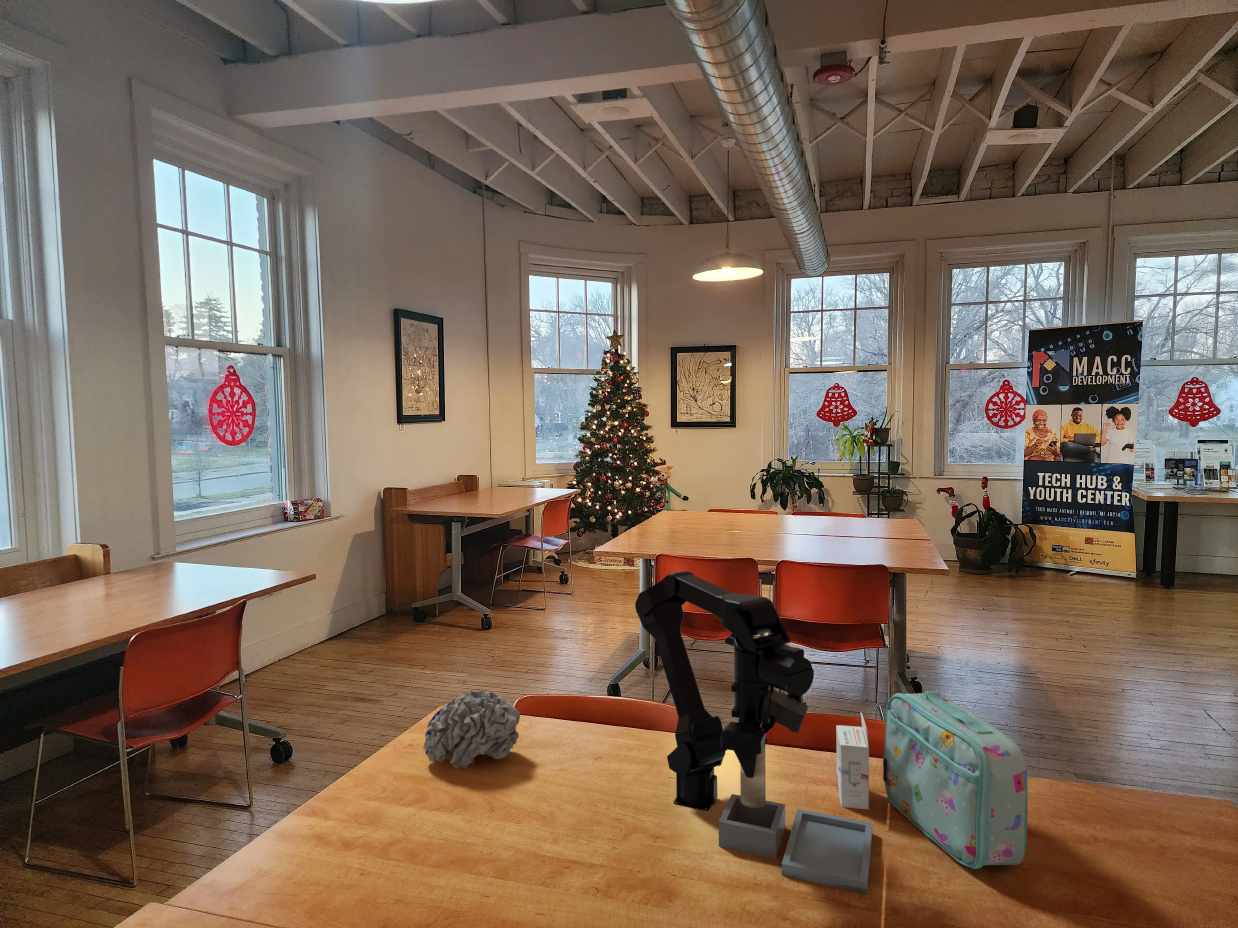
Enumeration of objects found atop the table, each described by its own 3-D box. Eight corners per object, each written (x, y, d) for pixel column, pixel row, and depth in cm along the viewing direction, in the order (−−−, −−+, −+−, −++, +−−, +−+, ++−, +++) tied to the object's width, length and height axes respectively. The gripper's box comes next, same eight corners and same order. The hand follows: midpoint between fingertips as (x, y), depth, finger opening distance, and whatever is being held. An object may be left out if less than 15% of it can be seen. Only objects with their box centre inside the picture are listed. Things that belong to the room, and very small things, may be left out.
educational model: (452, 771, 149) (419, 709, 149) (535, 727, 150) (502, 666, 149) (438, 804, 135) (402, 736, 135) (529, 755, 136) (493, 687, 135)
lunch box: (871, 793, 127) (872, 678, 126) (921, 786, 129) (922, 673, 128) (974, 887, 101) (976, 743, 100) (1035, 877, 103) (1037, 736, 102)
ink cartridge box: (834, 785, 130) (835, 708, 129) (862, 787, 129) (863, 709, 128) (840, 809, 122) (840, 727, 121) (869, 812, 121) (870, 729, 120)
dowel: (738, 804, 112) (737, 744, 111) (743, 792, 116) (743, 733, 115) (763, 809, 110) (762, 748, 110) (767, 797, 114) (767, 737, 113)
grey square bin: (718, 848, 111) (718, 821, 111) (731, 819, 119) (731, 793, 119) (775, 861, 107) (775, 833, 107) (785, 830, 116) (785, 804, 115)
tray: (781, 877, 104) (781, 863, 104) (797, 821, 118) (797, 808, 118) (867, 897, 99) (867, 882, 99) (872, 836, 114) (872, 823, 114)
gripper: (794, 704, 100) (794, 810, 101) (811, 663, 117) (811, 754, 118) (718, 694, 104) (719, 795, 105) (745, 656, 122) (746, 743, 122)
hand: (752, 770), depth 113 cm, fingers closed on dowel, 4 cm apart
